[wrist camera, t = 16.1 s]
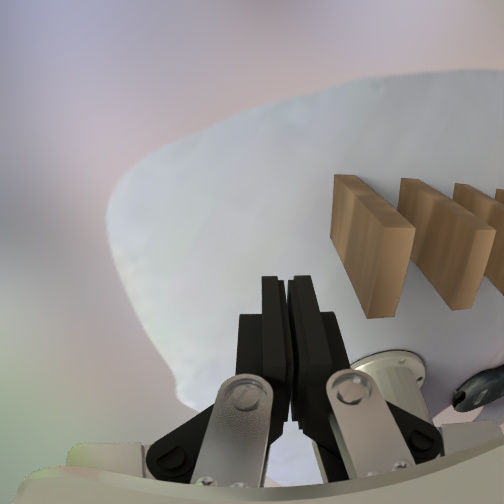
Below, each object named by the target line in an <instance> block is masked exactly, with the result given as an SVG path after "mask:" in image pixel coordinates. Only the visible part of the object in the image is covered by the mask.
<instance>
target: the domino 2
mask: <svg viewBox="0 0 504 504" xmlns="http://www.w3.org/2000/svg"><path fill="white" fill-rule="evenodd" d="M397 211H398V212H399V213H400V214H401V215H402V216H403V217H404V218H405V219H406V220H408V221H409V222H410V223H411V224H412V225H413V226H414V227H415V228H416V230H415V235H414V240H413V245H412V250H411V254H410V257H411V259H412V260H413V261H414V262H415V264H416V265H417V266H418V267H419V269H420V270H421V271H422V272H423V274H424V275H425V276H426V277H427V279H428V280H429V281H430V282H431V284H432V285H433V286H434V288H435V289H436V290H437V292H438V293H439V294H440V296H441V297H442V298H443V300H444V301H445V302H446V304H447V305H448V306H449V308H450V309H451V311H453V310H461V309H468V308H471V307H472V304H473V302H474V299H475V296H476V294H477V291H478V288H479V286H480V283H481V280H482V277H483V274H484V271H485V268H486V265H487V262H488V258H489V255H490V252H491V248H492V245H493V241H494V238H495V234H496V230H495V229H494V228H492V227H491V226H490V225H488V224H487V223H486V222H484V221H483V220H481V219H480V218H478V217H477V216H476V215H474V214H473V213H471V212H470V211H468V210H467V209H465V208H464V207H462V206H461V205H459V204H458V203H456V202H455V201H453V200H452V199H450V198H448V197H447V196H445V195H444V194H442V193H440V192H439V191H437V190H435V189H434V188H432V187H430V186H429V185H427V184H425V183H424V182H422V181H420V180H419V179H408V178H401V185H400V194H399V202H398V209H397Z"/></svg>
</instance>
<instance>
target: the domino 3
mask: <svg viewBox="0 0 504 504" xmlns="http://www.w3.org/2000/svg"><path fill="white" fill-rule="evenodd" d="M453 201H455V202H456V203H458V204H459V205H461V206H462V207H464V208H465V209H467V210H468V211H470V212H471V213H473V214H474V215H476V216H477V217H478V218H480V219H481V220H483V221H484V222H486V223H487V224H488V225H490V226H491V227H492V228H494V229H495V230H496V234H495V238H494V241H493V245H492V248H491V252H490V255H489V258H488V262H487V265H486V268H485V271H484V275H485V276H486V277H487V278H488V279H489V280H490V281H491V282H492V283H493V285H494V286H495V287H496V288H497V289H498V290H499V291H500V292H501V293H502V294H503V295H504V205H503V204H501V203H500V202H498V201H496V200H495V199H493V198H491V197H490V196H488V195H486V194H484V193H483V192H481V191H479V190H477V189H475V188H473V187H472V186H470V185H466V184H458V183H455V188H454V194H453Z"/></svg>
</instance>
